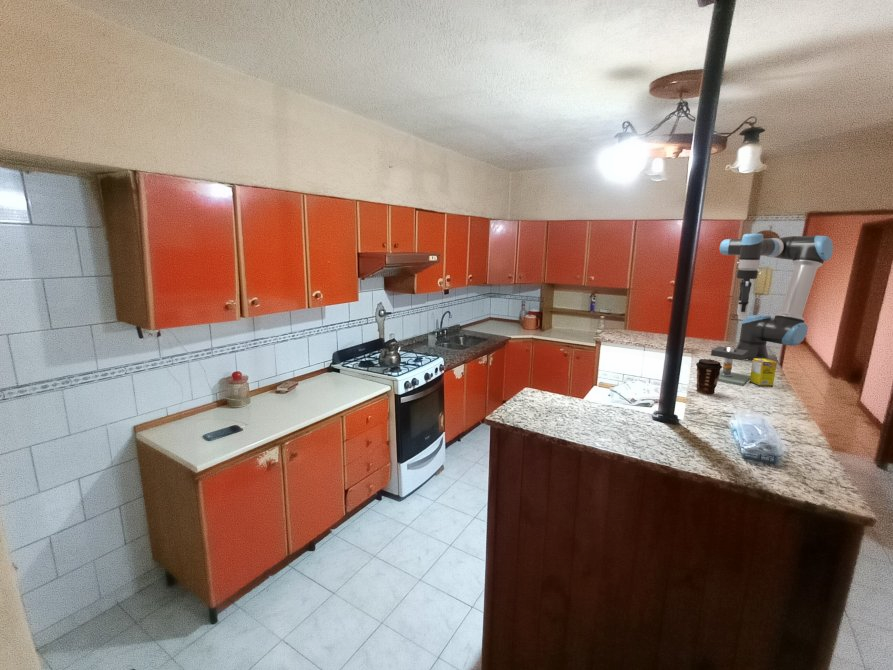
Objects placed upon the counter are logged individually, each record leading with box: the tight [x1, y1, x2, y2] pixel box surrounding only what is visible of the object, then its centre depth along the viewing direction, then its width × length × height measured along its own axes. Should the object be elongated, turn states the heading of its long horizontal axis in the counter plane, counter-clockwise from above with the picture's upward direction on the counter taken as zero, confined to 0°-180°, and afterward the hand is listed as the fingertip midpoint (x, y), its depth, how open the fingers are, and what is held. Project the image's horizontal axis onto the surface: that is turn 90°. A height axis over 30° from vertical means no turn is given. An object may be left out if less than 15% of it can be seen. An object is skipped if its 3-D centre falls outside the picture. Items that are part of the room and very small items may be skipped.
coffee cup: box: [695, 358, 723, 396], centre depth 166 cm, size 9×8×13 cm
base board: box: [718, 369, 751, 387], centre depth 187 cm, size 16×16×1 cm
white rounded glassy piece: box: [720, 346, 736, 377], centre depth 186 cm, size 4×4×13 cm
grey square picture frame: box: [710, 346, 748, 361], centre depth 185 cm, size 11×11×2 cm
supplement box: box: [748, 358, 778, 388], centre depth 177 cm, size 6×6×11 cm
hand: (741, 317), depth 190 cm, fingers open, 13 cm apart
